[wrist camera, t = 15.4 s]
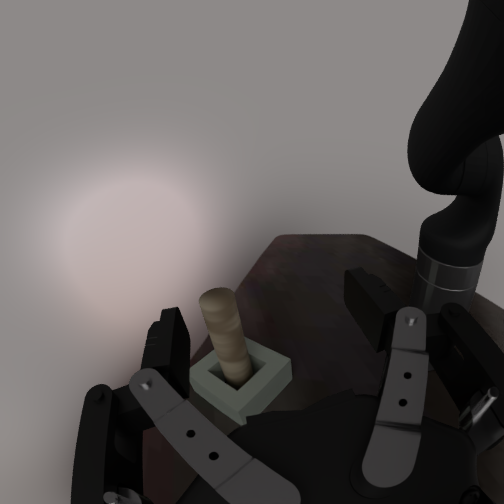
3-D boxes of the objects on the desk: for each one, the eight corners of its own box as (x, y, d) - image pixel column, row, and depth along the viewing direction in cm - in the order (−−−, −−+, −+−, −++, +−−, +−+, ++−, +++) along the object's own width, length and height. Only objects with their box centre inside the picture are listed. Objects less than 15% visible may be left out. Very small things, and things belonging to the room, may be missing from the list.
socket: (240, 352, 41) (235, 332, 40) (292, 378, 35) (290, 359, 33) (194, 390, 35) (184, 372, 33) (245, 428, 29) (238, 411, 27)
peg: (242, 373, 37) (217, 284, 30) (261, 384, 35) (241, 293, 28) (224, 389, 35) (191, 301, 28) (243, 402, 33) (215, 313, 26)
